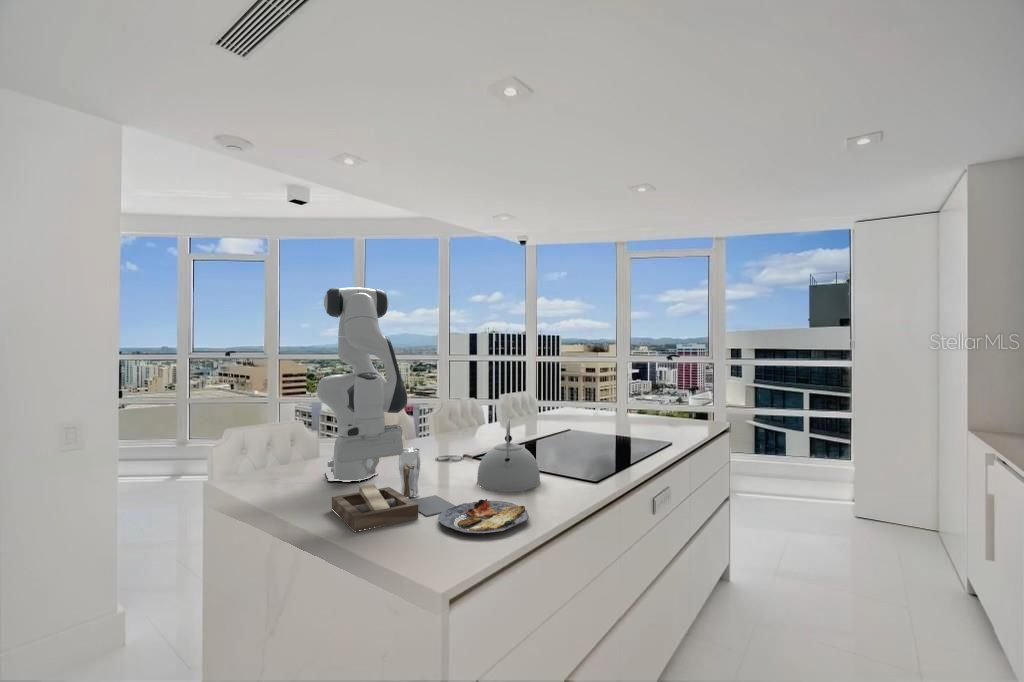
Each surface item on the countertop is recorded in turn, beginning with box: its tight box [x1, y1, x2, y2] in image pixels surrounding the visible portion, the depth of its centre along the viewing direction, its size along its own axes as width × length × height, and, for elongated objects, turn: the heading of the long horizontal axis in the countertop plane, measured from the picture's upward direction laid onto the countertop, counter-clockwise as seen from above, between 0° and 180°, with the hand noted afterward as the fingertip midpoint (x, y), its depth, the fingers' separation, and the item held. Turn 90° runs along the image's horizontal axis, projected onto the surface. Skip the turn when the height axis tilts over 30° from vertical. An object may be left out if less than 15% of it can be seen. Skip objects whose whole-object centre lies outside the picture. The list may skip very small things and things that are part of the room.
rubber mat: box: [411, 494, 456, 518], centre depth 152 cm, size 16×11×1 cm
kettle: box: [476, 418, 541, 492], centre depth 177 cm, size 25×23×23 cm
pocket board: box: [331, 486, 419, 532], centre depth 145 cm, size 22×18×4 cm
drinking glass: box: [398, 447, 421, 498], centre depth 163 cm, size 7×7×15 cm
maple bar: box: [358, 483, 390, 511], centre depth 144 cm, size 14×4×2 cm, turn 35°
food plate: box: [437, 498, 530, 535], centre depth 138 cm, size 25×23×4 cm
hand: (369, 473), depth 147 cm, fingers closed
